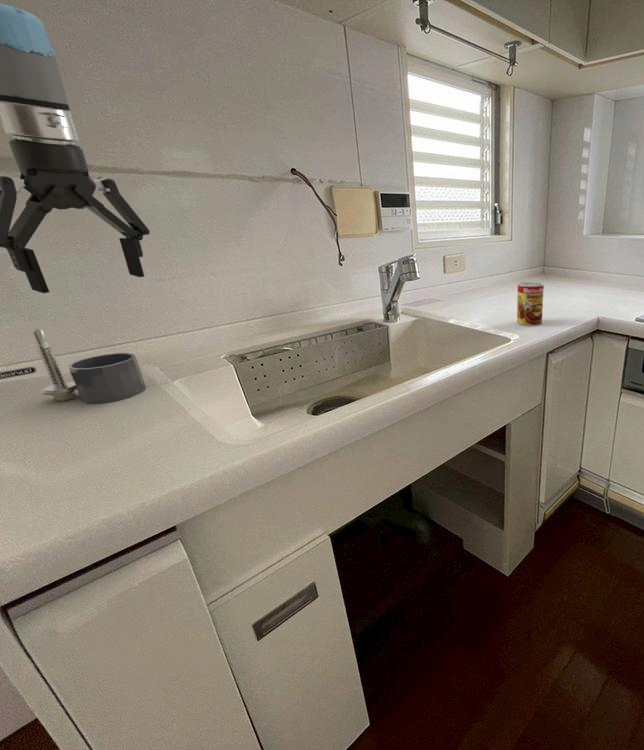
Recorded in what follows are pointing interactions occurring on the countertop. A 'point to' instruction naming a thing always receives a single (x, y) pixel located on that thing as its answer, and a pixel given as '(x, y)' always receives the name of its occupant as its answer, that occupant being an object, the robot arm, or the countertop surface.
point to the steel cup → (107, 377)
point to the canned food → (530, 303)
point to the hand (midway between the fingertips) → (93, 282)
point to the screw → (53, 370)
